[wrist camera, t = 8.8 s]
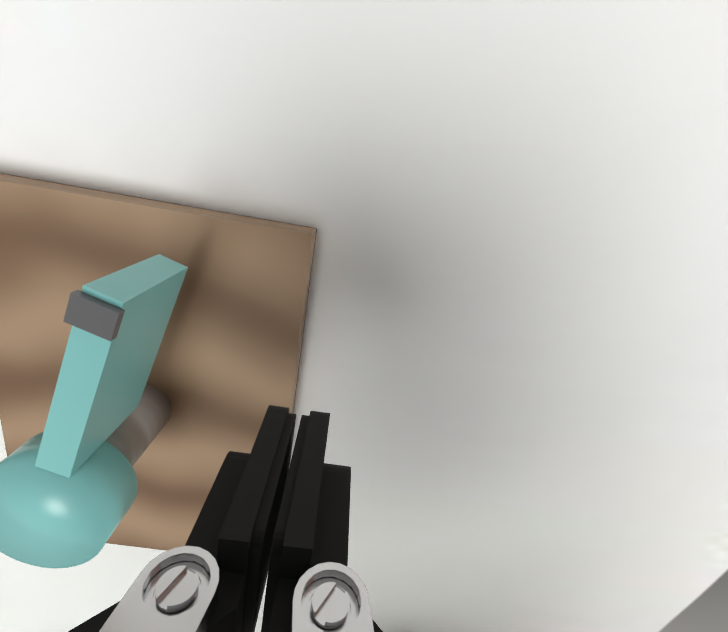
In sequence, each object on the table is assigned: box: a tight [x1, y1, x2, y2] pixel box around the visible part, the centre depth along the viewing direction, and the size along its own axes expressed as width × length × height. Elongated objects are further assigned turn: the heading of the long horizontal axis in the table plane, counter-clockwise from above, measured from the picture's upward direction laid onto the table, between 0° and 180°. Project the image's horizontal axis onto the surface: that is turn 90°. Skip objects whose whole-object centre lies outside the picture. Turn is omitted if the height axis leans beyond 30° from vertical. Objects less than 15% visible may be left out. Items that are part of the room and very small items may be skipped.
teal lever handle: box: [0, 254, 188, 568], centre depth 15 cm, size 12×5×5 cm, turn 153°
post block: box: [0, 173, 316, 551], centre depth 20 cm, size 22×16×7 cm
